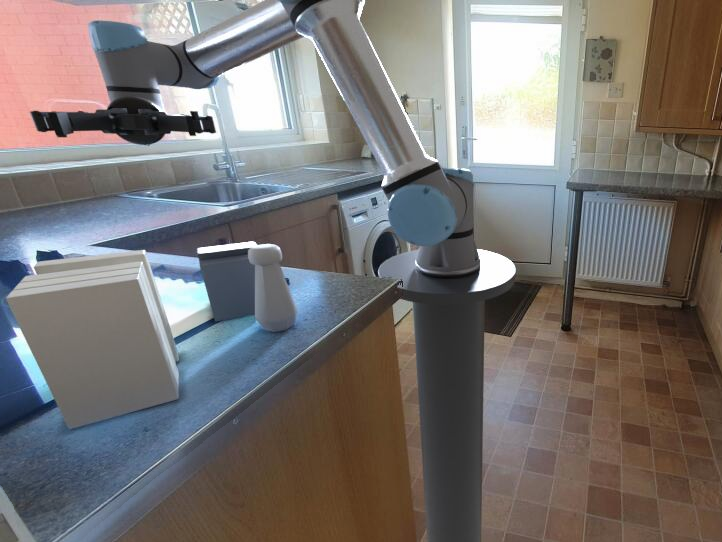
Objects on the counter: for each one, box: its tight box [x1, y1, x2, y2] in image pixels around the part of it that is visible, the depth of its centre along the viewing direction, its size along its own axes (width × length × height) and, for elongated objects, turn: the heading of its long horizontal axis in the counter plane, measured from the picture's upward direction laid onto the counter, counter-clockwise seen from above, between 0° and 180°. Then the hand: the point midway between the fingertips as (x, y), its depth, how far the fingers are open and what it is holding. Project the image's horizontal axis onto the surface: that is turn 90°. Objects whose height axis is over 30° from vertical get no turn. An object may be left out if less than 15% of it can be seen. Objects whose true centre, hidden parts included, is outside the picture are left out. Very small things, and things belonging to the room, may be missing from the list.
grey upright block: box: [196, 241, 258, 323], centre depth 67 cm, size 8×8×10 cm
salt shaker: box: [248, 243, 298, 333], centre depth 62 cm, size 6×6×13 cm
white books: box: [5, 262, 180, 430], centre depth 44 cm, size 9×6×15 cm
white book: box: [33, 249, 180, 363], centre depth 49 cm, size 9×2×15 cm, turn 127°
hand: (127, 125), depth 55 cm, fingers open, 13 cm apart
